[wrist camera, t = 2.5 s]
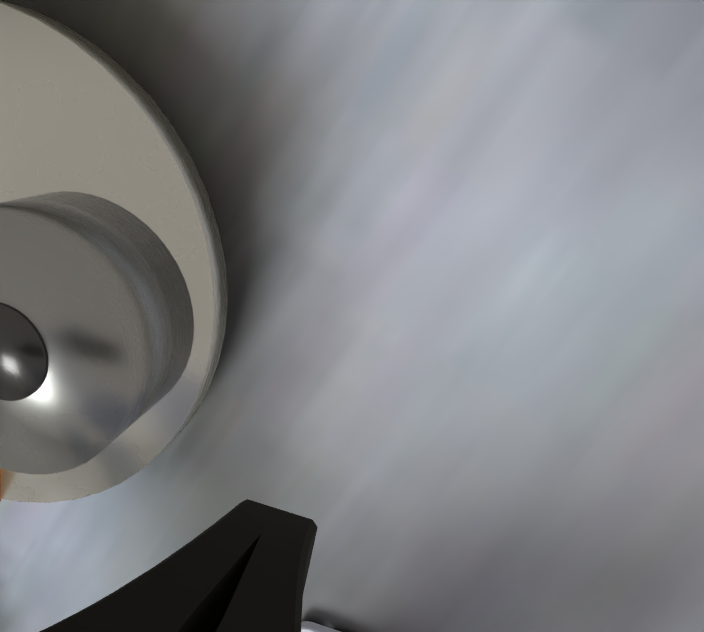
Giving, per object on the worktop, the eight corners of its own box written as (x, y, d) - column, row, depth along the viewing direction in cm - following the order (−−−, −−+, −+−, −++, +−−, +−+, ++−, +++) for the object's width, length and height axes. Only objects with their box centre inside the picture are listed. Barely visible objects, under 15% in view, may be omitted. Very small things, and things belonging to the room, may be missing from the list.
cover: (207, 223, 18) (138, 252, 14) (181, 441, 20) (116, 510, 17) (-18, 166, 19) (-133, 180, 15) (-17, 381, 21) (-116, 434, 18)
